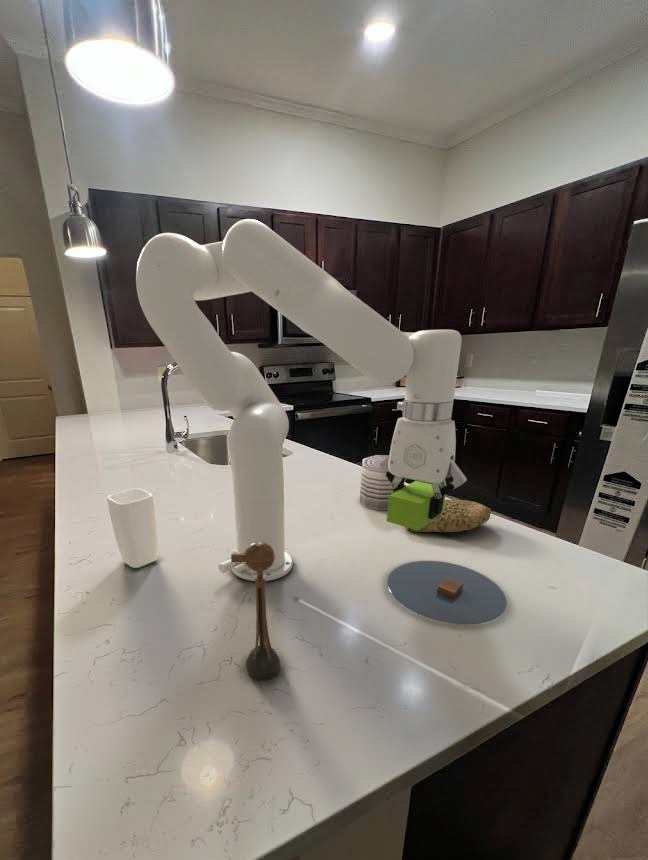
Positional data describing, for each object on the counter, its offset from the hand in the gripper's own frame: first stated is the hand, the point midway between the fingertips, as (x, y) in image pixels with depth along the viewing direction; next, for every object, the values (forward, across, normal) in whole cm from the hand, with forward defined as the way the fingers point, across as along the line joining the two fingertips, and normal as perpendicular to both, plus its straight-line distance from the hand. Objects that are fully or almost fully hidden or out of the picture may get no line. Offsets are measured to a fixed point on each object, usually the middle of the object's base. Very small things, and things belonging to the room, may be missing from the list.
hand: (416, 511), depth 76 cm
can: (+14, -24, +29) cm, 40 cm away
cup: (+13, -44, -32) cm, 56 cm away
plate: (+14, +7, -1) cm, 15 cm away
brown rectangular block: (+13, +8, -1) cm, 15 cm away
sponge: (+14, -4, +25) cm, 29 cm away
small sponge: (+1, 0, 0) cm, 1 cm away
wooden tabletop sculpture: (+13, -4, -37) cm, 39 cm away
